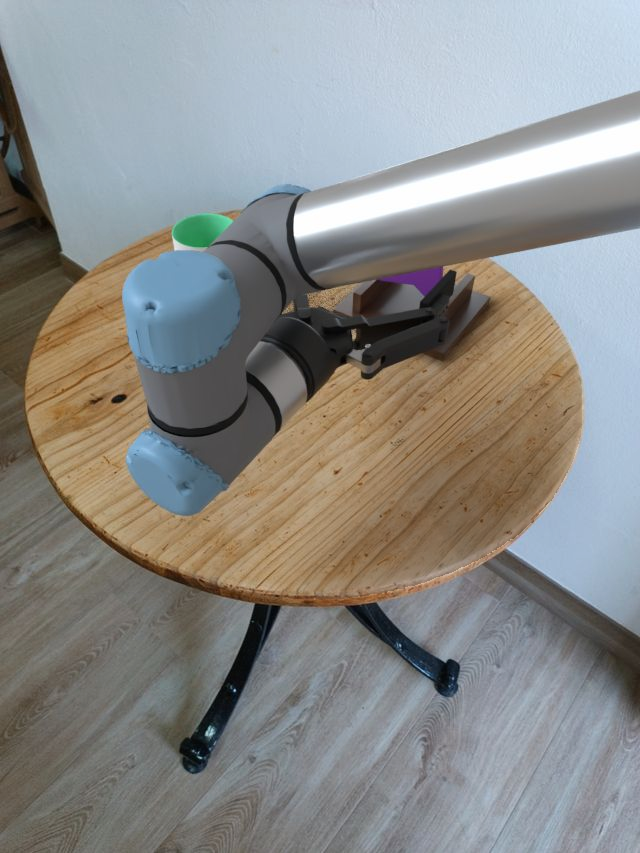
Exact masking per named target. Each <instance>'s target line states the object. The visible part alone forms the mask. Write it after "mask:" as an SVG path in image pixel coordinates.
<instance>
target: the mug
mask: <svg viewBox="0 0 640 853" xmlns="http://www.w3.org/2000/svg"><path fill="white" fill-rule="evenodd" d="M233 221H234V220H233V219H232V218H230V217H229V216H226V215H223V214H219V213H210V212H209V213H208V212H207V213H206V212H205V213H197V214H191V215H189V216H186V217H183V218H181V219H180V220H178V221H177V222H176V223H175V224H174V226H173V227H172V229H171V238H172V244H173V249H174V250H173V251H176V250H194V251H201V252H203V251H204V250H206V249H207V248H208V247H209V246H210V245H211V244H212V243H213V242H214V241H215V240H216V239H217V238H218V237H219V235H220V234H221V233H222V232H223V231H224V230H225V229H226V228H227V227H228V226H229V225H230V224H231V223H232V222H233Z"/></svg>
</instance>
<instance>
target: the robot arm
mask: <svg viewBox="0 0 640 853" xmlns="http://www.w3.org/2000/svg"><path fill="white" fill-rule="evenodd" d="M639 229H640V90H637V91H634V92H631V93H627V94H624V95H621V96H617V97H614V98H610V99H607V100H605V101H604V100H603V101H602V102H598V103H595V104H594V103H593V104H591V105H588V106H585V107H581V108H578V109H575V110H572V111H568V112H565V113H561V114H559V115H556V116H552V117H549V118H545V119H542V120H540V121H536V122H533V123H529V124H525V125H523V126H519V127H517V128H513V129H510V130H507V131H503V132H500V133H497V134H496V133H495V134H493V135H490V136H487V137H484V138H481V139H478V140H474V141H471V142H468V143H467V142H466V143H464V144H461V145H458V146H454V147H451V148H448V149H445V150H444V149H443V150H441V151H438V152H435V153H431V154H428V155H425V156H422V157H418V158H415V159H411V160H408V161H406V162H402V163H399V164H395V165H393V166H392V165H391V166H389V167H385V168H383V169H379V170H376V171H372V172H368V173H365V174H363V175H359V176H357V177H352V178H350V179H347V180H344V181H341V182H337V183H334V184H331V185H327V186H324V187H320V188H318V189H314V190H311V189H309V188H307V187H304V186H299V185H295V184H291V183H283V184H279V185H275V186H273V187H271V188H269V189H267V190H266V191H265V192H263V193H262V194H261V195H260V196H258V197H256V198H254V199H253V200H251V201H249V202H248V204H247V205H246V207H244V208H242V210H241V212H240V213H239V215H238V216H237V217H235V219H234V220H233V222H232V223H231V224H230V225H229V226H228V227H227V228H226V229H225V230H224V231H223V232H222V233H221V234H220V235H219V237H218V238H217V239H216V240H215V241H214V242H213V243H212V244H211V245H210V246H209V247H208V248H207V249H206V250H204V251H203V252H201V251H194V250H176V251H175V250H171V251H165V252H162V253H160V254H159V255H158V257H157V258H154V259H145V260H143V261H142V262H140V263H138V264H137V265H136V266H135V267H133V269H132V270H131V271H130V272H129V274H128V275H127V277H126V278H125V281H124V282H123V286H122V292H121V300H122V306H123V310H124V316H125V320H124V321H125V323H126V324H125V325H126V330H127V331H126V339H127V343H128V345H129V348H130V351H131V352H132V354H133V357H134V361H135V364H136V367H137V372H138V376H139V379H140V383H141V386H142V391H143V395H144V398H145V402H146V410H147V416H148V419H149V423H150V424H149V427H148V428H146V429H144V430H142V431H140V433H139V434H138V436H137V437H136V438H135V439H134V441H133V442H132V443H131V444H130V445H129V447H128V450H127V454H126V456H125V461H126V462H125V463H126V467H127V469H128V472H129V474H130V476H131V478H132V479H133V481H134V482H135V484H136V485H137V486H138V488H139V489H140V490H141V491H142V492H143V494H144V495H146V497H148V498H149V499H150V500H151V501H152V502H153V503H155V504H156V505H158V506H159V507H160V508H162V509H164V510H166V511H167V512H169V513H171V514H174V515H175V516H176V515H177V516H181V517H191V516H195V515H197V514H199V513H201V512H202V511H203V510H204V509H205V508H206V507H207V506H208V505H209V504H210V503H212V502H213V501H214V500H215V499H216V498H217V497H218V496H219V495H220V494H221V493H223V492H225V491H228V489H229V488H230V486H231V484H232V483H234V482H235V480H236V479H237V478H238V477H239V476H240V475H241V474H242V472H243V471H244V470H245V469H247V467H248V466H249V465H250V464H251V463H252V462H253V460H255V458H256V457H257V456H258V455H259V454H260V453H261V452H262V451H263V450H264V448H266V447H267V445H268V444H269V443H270V442H272V440H273V439H274V437H275V436H276V435H277V434H278V433H280V431H281V430H283V428H285V426H286V425H287V424H288V423H289V422H290V421H291V420H292V419H293V418H294V417H295V416H296V415H297V413H298V412H299V411H300V410H301V409H302V408H303V407H304V406H305V404H306V403H309V401H311V399H312V398H313V397H315V395H316V394H317V393H318V392H320V390H322V388H323V387H324V386H325V385H326V384H327V383H328V382H329V380H330V379H331V378H332V376H333V375H334V373H335V372H336V370H337V369H338V368H340V367H342V366H345V365H348V364H350V365H351V366H353V367H355V368H357V369H359V370H360V377H361V378H362V380H366V381H368V380H372V379H373V378H375V377H376V376H377V375H378V374H380V372H382V371H383V370H384V369H387V368H388V367H391V366H394V365H396V364H400V363H402V362H404V361H406V360H409V359H412V358H414V357H416V356H419V355H421V354H424V352H426V351H429V350H431V349H434V348H436V347H439V346H441V345H444V344H445V343H446V339H447V333H448V327H449V319H447V318H445V317H443V316H444V315H445V314H446V313H447V311H448V305H449V299H450V297H451V296H452V295H453V291H454V286H455V284H456V279H457V273H458V272H457V271H456V270H453V269H449V270H448V271H446V273H445V274H443V278H442V279H441V280H440V281H439V282H438V283H437V284H436V285H435V286H434V287H433V288H432V289H431V291H430V292H429V293H428V294H427V295H426V296H425V297H424V298H423V299H422V300H421V301H420V307H419V309H415V310H410V311H404V312H399V313H393V314H388V315H383V316H377V317H372V318H364V316H362V315H359V316H354V317H348V318H347V317H346V316H344V315H341V314H338V313H333V311H331V310H329V309H328V308H326V307H324V306H321V305H318V306H317V307H316V306H310V301H309V296H308V295H309V294H314V293H318V292H323V291H327V290H332V289H336V288H339V287H344V286H349V285H355V284H360V283H362V282H366V281H371V280H376V279H381V278H387V277H392V276H397V275H402V274H407V273H412V272H418V271H423V270H428V269H433V268H438V267H443V268H444V267H447V266H448V267H449V266H453V265H457V264H463V263H469V262H474V261H479V260H484V259H488V258H489V259H490V258H494V257H499V256H504V255H505V256H506V255H509V254H514V253H520V252H526V251H530V250H531V251H532V250H536V249H541V248H545V247H551V246H555V245H562V244H567V243H571V242H577V241H581V240H586V239H591V238H597V237H598V238H599V237H602V236H606V235H613V234H618V233H623V232H628V231H632V230H639ZM291 303H292V304H293V311H288V312H285V310H286V309H287V308H288V307H289V305H290V304H291ZM352 330H355V339H353V331H352Z"/></svg>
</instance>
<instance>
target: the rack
mask: <svg viewBox="0 0 640 853" xmlns="http://www.w3.org/2000/svg"><path fill="white" fill-rule="evenodd" d="M475 280H476V275H474V274H471V273H469V272H467V273H466V274H465V275H464V276H463V277H462V278H461V279H460V280H459V282H458V283H457V284H456V283H455V286H454V291H453V295H452V296H451V297H450V299H449V305H448V311H447V313H446V314H445V315H444V316H443V317H445V318H447V319H449V327H448V333H447V339H446V343H445V344H444V345H441V346H439V347H436V348H434V349H431V350H429V351H426V352H424V353H423V354H424V355H427V356H429V357H432V358H433V359H436V360H439V361H441V362H443V361H444V360H445V359H446V357H447V356H448V355H449V354H450V352H451V351H452V350H453V349H454V347H456V345H457V344H458V343H459V342H460V341H461V339H462V338H463V337H464V335H465V334H466V333H467V332H468V330H469V329H471V327H472V325H473V324H474V323H475V322H476V321H477V319H478V318H479V317H480V316H481V314H482V313H484V311H485V309H486V308H487V307H488V306H489V305H490V301H491V296H490V295H487V294H484V293H481V292H478V291H476V290H474V284H475ZM423 298H424V296H423V295H422V294H421V292H420V291H419V290H418V289H417V288H416V287H415V286H414V285H409V284H402V283H395V282H388V281H381V280H378V279H376V280H371V281H366V282H361V283H358V285H357V286H356V287H355V288H354V289H353V290H352V291H350V293H349V294H348V295H347V296H345V297H344V298H343V299H342V300H341V301H340V302H339V303H338V304H337V305H336V306H335V307H333V309H332V312H333V313H338V314H341V315H344V316H346V317H347V318H348V317H354V316H359V315H362V316H364V318H372V317H377V316H383V315H388V314H393V313H399V312H404V311H410V310H415V309H419V307H420V301H421V300H422V299H423Z"/></svg>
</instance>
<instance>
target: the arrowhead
mask: <svg viewBox="0 0 640 853" xmlns="http://www.w3.org/2000/svg"><path fill="white" fill-rule="evenodd" d="M443 277H444V266H443V267H438V268H433V269H428V270H423V271H418V272H412V273H407V274H402V275H397V276H392V277H387V278H381V279H378V280H381V281H388V282H395V283H402V284H409V285H414V286H415V287H416V288H417V289H418V290H419V291H420V292H421V294H422V295H423V296H424V297H425V296H426V295H427V294H428V293H429V292H430V291H431V289H432V288H433V287H434V286H435V285H436V284H437V283H438V282H439V281H440V280H441V279H442V278H443Z"/></svg>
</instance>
